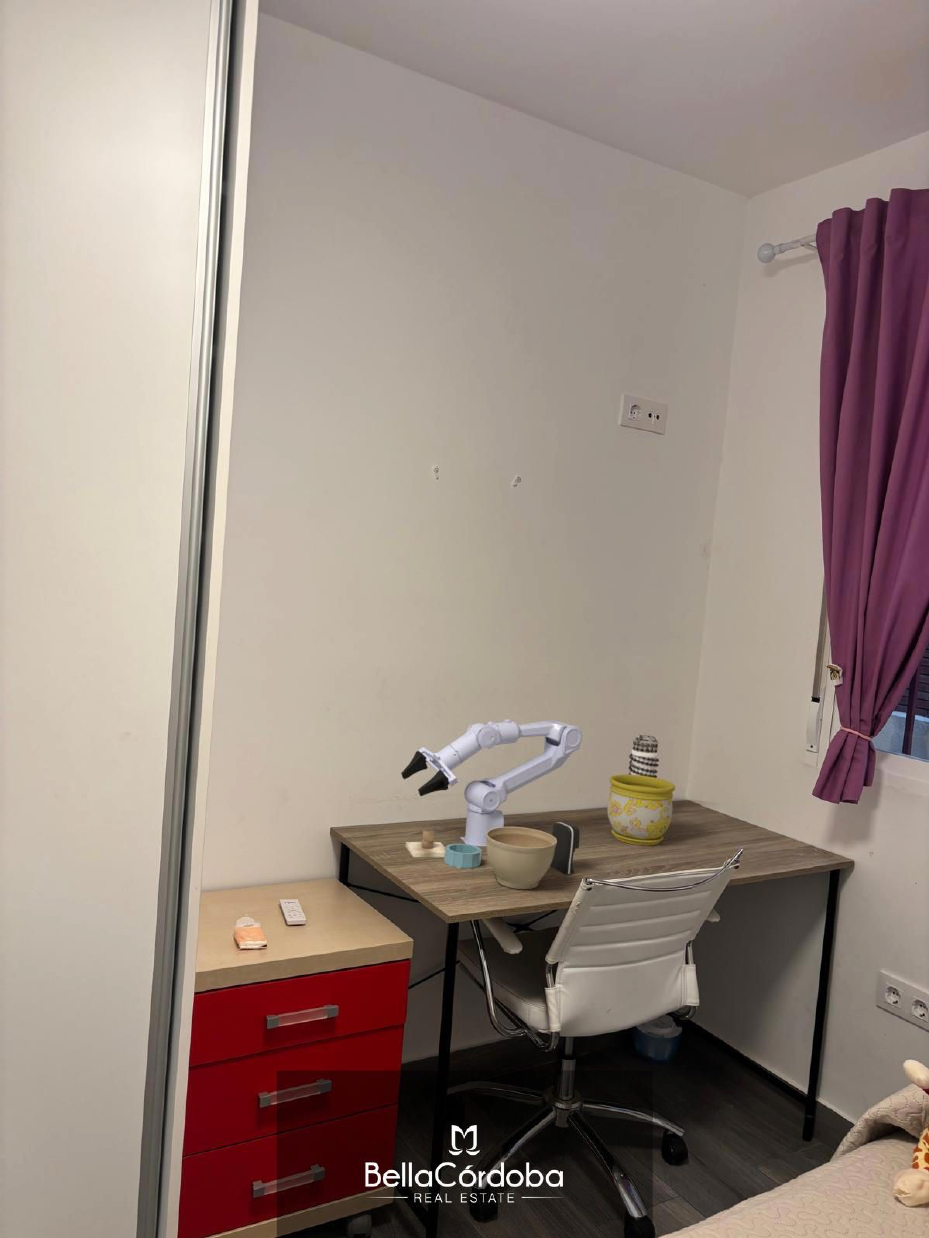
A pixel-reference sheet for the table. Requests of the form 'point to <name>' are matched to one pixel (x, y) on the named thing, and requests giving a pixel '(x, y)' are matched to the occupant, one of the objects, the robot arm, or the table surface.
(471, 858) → the bowl
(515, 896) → the table surface
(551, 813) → the table surface
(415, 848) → the lid
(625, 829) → the flowerpot
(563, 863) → the battery charger
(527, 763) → the robot arm
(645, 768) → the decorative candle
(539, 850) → the planter bowl
